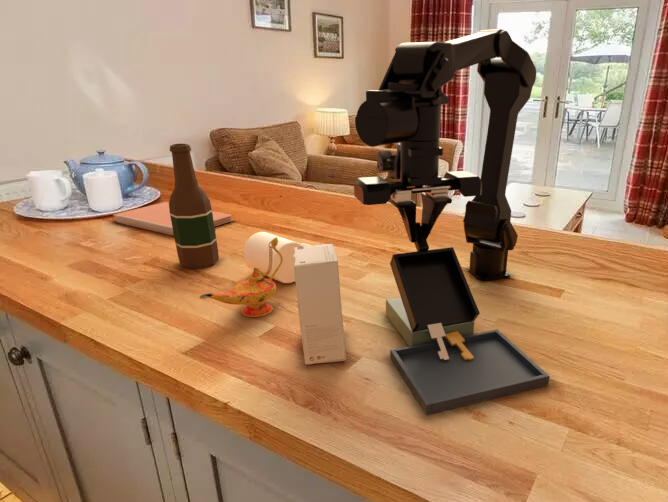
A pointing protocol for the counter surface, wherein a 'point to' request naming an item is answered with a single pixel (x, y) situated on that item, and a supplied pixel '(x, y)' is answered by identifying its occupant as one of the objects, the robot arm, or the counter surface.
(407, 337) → the stand
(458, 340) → the brass key
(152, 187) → the counter surface
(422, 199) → the robot arm
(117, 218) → the notebook
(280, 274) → the mug
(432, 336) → the steel key
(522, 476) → the counter surface
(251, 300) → the magic lamp
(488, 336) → the tray
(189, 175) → the beer bottle
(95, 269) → the counter surface
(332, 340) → the cosmetic box
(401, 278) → the dish
